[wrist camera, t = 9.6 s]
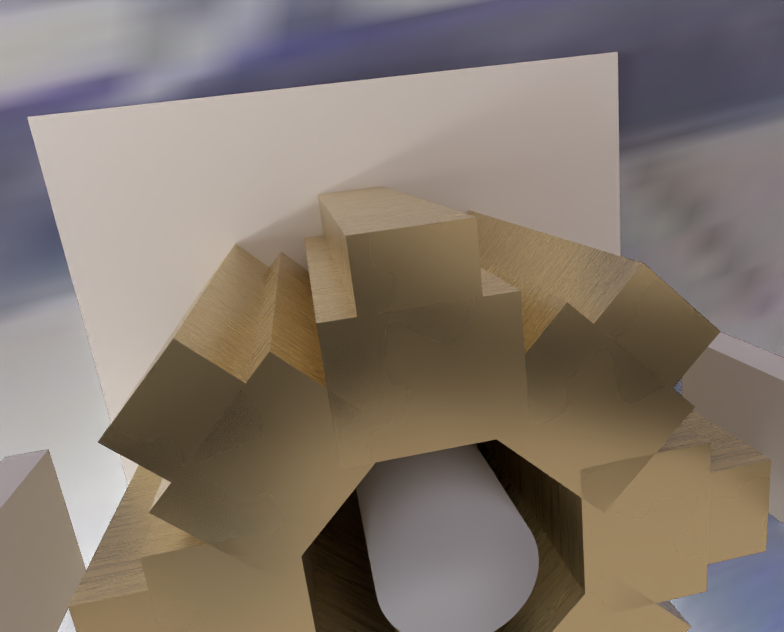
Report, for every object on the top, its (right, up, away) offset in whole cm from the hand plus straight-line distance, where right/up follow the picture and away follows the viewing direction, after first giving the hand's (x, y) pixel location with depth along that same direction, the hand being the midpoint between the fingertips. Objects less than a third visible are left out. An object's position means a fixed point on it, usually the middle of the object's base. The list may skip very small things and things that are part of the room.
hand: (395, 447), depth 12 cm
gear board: (0, -4, +6) cm, 8 cm away
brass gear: (-1, +1, +4) cm, 4 cm away
